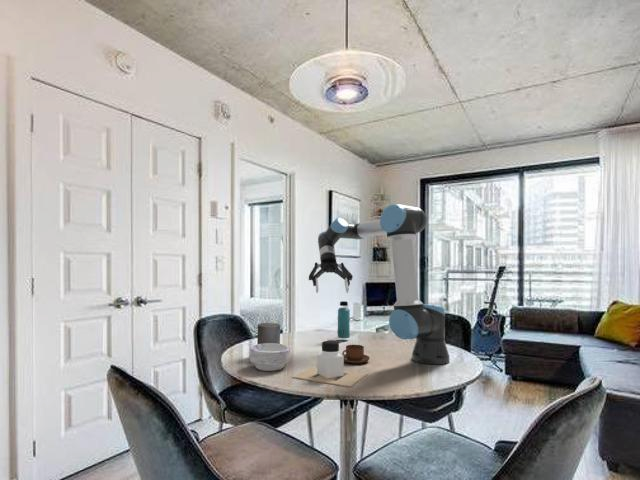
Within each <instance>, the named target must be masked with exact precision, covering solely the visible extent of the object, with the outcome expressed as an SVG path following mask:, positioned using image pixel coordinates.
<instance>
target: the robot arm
mask: <svg viewBox="0 0 640 480" xmlns="http://www.w3.org/2000/svg"><path fill="white" fill-rule="evenodd" d="M427 221H428V219H427V215H426V213H425V212H424V210H423V209H421V208H419V207H417V206H412V205H406V204H401V203H398V204H396V203H393V204H389V205H387V206H386V207H385V208H383V211H382V212H381V214H380V219H375V220H370V221H364V222H360V223H348V222H347V221H346V220H345V219H344V218H341V217H336V218H335V219H334V220H333V221H332V222H331V224H330V225H329V227H328V228H327V229H326V231H325V230H324V231H322V232H320V233H319V235H318V236H317V245H318V250H319V258H320V259H319V260H320V263H318V262H314V267H313V268H312V269H311V271H310V273H309V275H308V281H312V284H313V287H315V291H316V292H315V293H316V294H318V293H319V280H318V279H319V278H320V277H321V276H322V275H323V274H325V273H326V274H327V273H334V274H336V275H338V276H339V277H340V278H342V279H343V280H344V287H345V288H344V289H345V292H346V294H347V293H349V290H350V285H351V282H350V281H353V277H354V276H353V274H352V273H351V272H350V271H349V269H348V268H347V267H346V266H345V263H344V262H341V263H337V258H336V252H335V245H336V244H337V242H338V241H339V240H340V239H351V240H364V239H365V238H370V237H378V236H384V235H385V236H386V238H387V240H389V241H390V243H391V253H392V261H393V262H392V263H393V273H394V284H395V296H396V301H395V303H393V311H392V312H391V314H390V316H389V318H388V324H389V328H390V330H391V332H392V333H393V334H394V335H395V336H396V337H397V338H398V339H401V340H414V339H415V342H414V347H413V350H412V353H411V359H412V360H413V362H417V363H422V364H427V365H445V363H446V364H448V362H449V363H450V360H451V359H450V353H449V350H448V348H447V344H446V314H445V313H446V312H445V307H444V306H442V305H435V304H427V303H425V304H424V302H422V301H421V300H420V298H419V290H418V279H417V271H416V262H415V261H416V260H415V253H414V252H415V249H414V243H413V242H414V241H413V240H414V239H415V237H416V236H417V234H419V233H420V232H422V231H423V230H424V229H425V228H426V226H427V223H428V222H427ZM319 268H320V269H319ZM317 270H318V271H317Z"/></svg>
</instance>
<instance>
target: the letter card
mask: <svg viewBox="0 0 640 480" xmlns="http://www.w3.org/2000/svg"><path fill="white" fill-rule="evenodd" d="M366 376H368V373H364V372H357V371H351V370H345V369H344V376H340V377H334V378H328V379H326V378H325V377H323V376H321V375H319V374H317V365H312V366H311V367H310V366H309V367H308V368H306V369H304V370H303V371H301V372H298V373H297V374H294V375H293V376H291V378H293V379H296V378H297V379H296V380H304V381H309V382H315V383H322V384H328V385H334V386H340V387H346V388H352V387H353V386H354V385H356V384H357V383H359V381H361V380H363V379H364V378H365V377H366Z"/></svg>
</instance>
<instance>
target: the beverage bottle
mask: <svg viewBox="0 0 640 480" xmlns="http://www.w3.org/2000/svg"><path fill="white" fill-rule="evenodd" d="M348 305H349V303H348V301H345V300H342V301H340V302H339V306H343V307H339V308H338V309H337V329H336V330H337V338H338V339H349V338H350V335H351V334H350V332H351V330H350V329H351V328H350V327H351V325H350V321H351V320H350V318H351V317H350V315H351V313H350V309H349V308H348V307H347V306H348Z"/></svg>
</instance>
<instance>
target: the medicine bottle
mask: <svg viewBox="0 0 640 480" xmlns="http://www.w3.org/2000/svg"><path fill="white" fill-rule="evenodd" d="M344 363H345V362H344V356H343V355H342V354H340V343H339V341H337V340H334V339H326V340H323V341H322V342H321V353H317V354H316V366H317V374H319V375H321V376H323V377H325V378H326V379H328V378H334V377H340V376H344V370H345V366H344Z"/></svg>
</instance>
